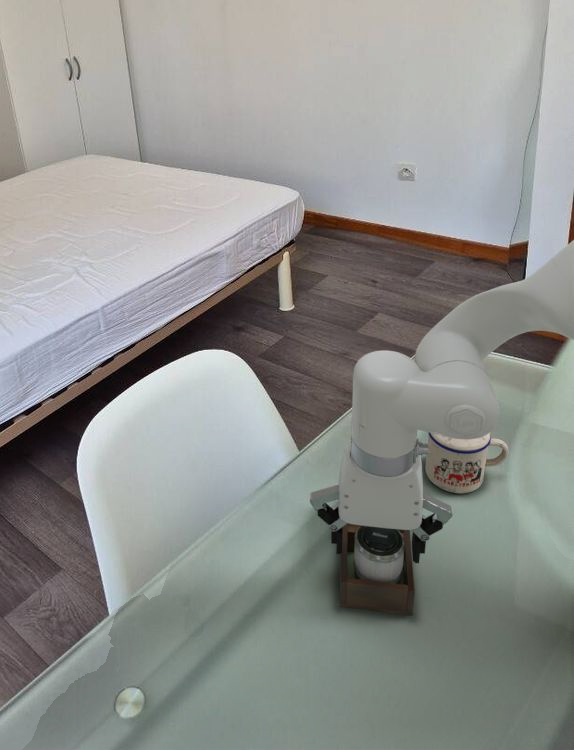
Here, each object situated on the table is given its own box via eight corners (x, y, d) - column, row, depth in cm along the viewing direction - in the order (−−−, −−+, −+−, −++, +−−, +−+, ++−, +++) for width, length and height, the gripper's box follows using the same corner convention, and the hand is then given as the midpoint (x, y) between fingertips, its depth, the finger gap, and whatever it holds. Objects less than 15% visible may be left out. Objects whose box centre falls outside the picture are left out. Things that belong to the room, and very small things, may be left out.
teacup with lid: (427, 493, 105) (433, 434, 100) (420, 452, 113) (425, 395, 108) (510, 499, 103) (521, 438, 98) (497, 457, 111) (506, 399, 106)
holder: (404, 511, 103) (406, 488, 101) (412, 615, 87) (414, 591, 85) (342, 505, 105) (342, 482, 103) (339, 606, 89) (340, 582, 87)
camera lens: (400, 602, 88) (404, 559, 85) (350, 591, 90) (352, 549, 87) (402, 563, 94) (406, 521, 90) (356, 553, 96) (357, 512, 92)
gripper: (455, 433, 84) (443, 534, 91) (311, 422, 87) (311, 520, 95) (463, 477, 77) (449, 582, 85) (307, 464, 81) (308, 565, 88)
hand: (376, 549), depth 90 cm, fingers open, 9 cm apart
